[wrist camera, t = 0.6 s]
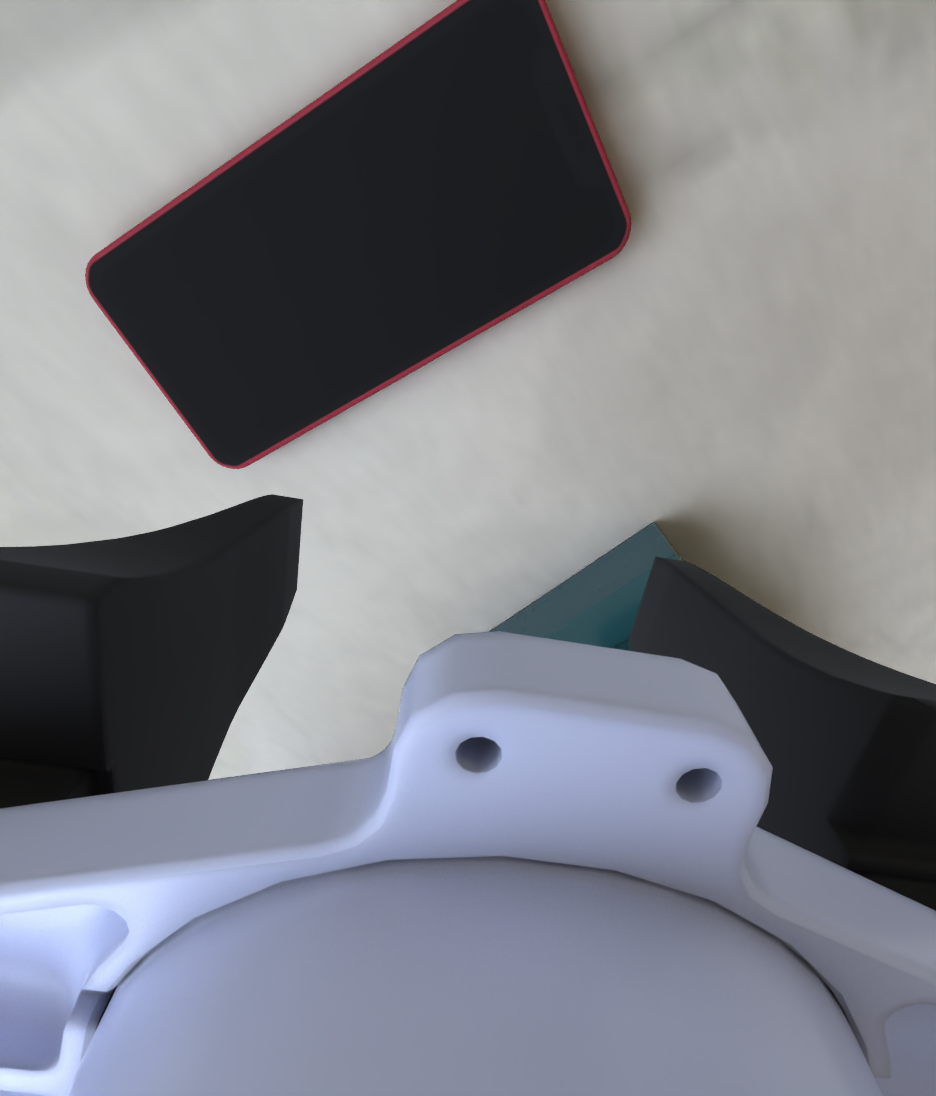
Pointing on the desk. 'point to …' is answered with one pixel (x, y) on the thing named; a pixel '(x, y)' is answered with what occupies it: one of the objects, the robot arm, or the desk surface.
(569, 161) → the smartphone
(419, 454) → the desk surface
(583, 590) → the teal button housing
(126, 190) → the desk surface
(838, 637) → the desk surface
